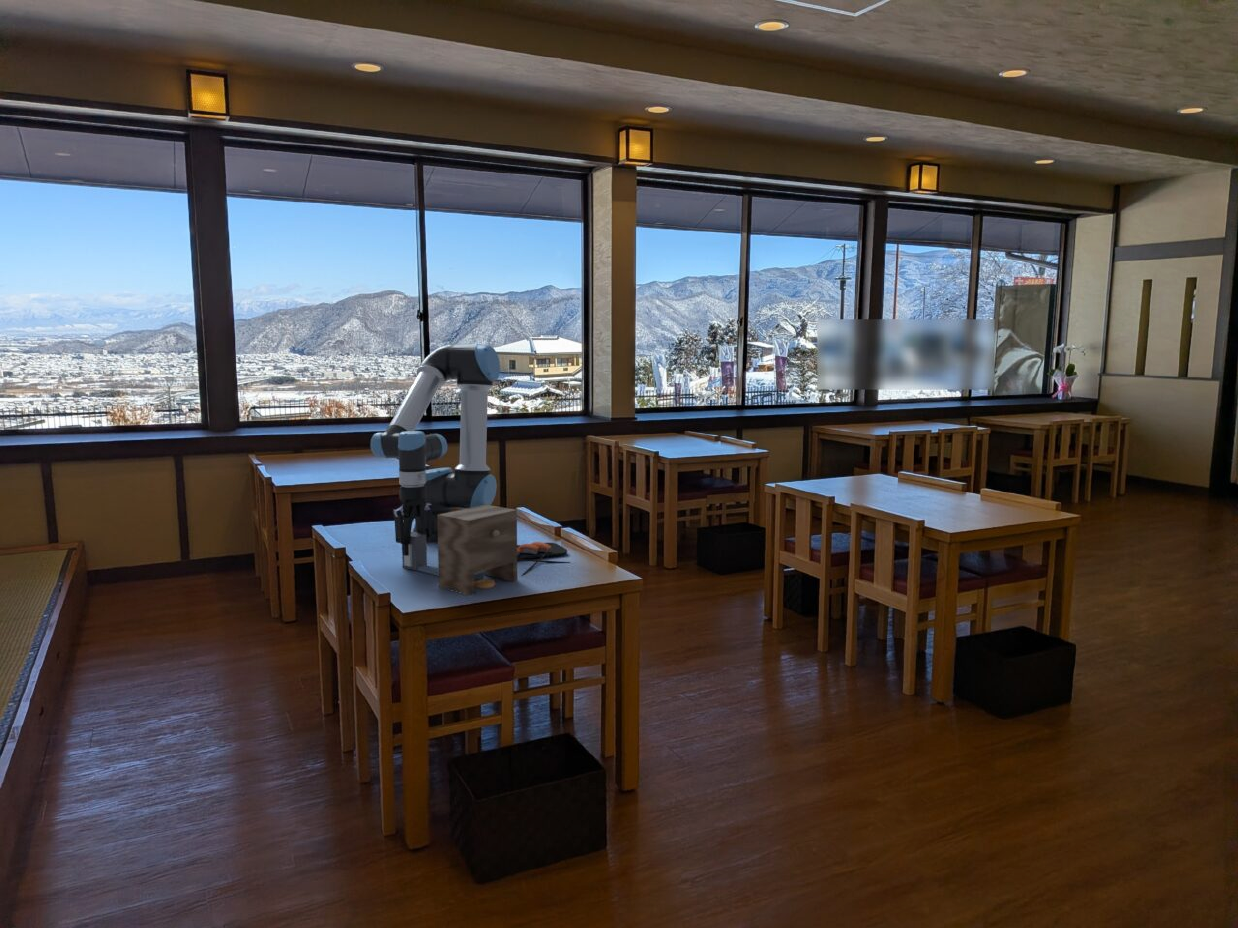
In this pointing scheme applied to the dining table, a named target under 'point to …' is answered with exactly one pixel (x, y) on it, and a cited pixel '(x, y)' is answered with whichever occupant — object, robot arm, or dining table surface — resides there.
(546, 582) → the dining table surface
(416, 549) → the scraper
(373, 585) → the dining table surface
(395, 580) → the dining table surface
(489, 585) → the puck
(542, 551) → the sushi plate
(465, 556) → the cabinet
